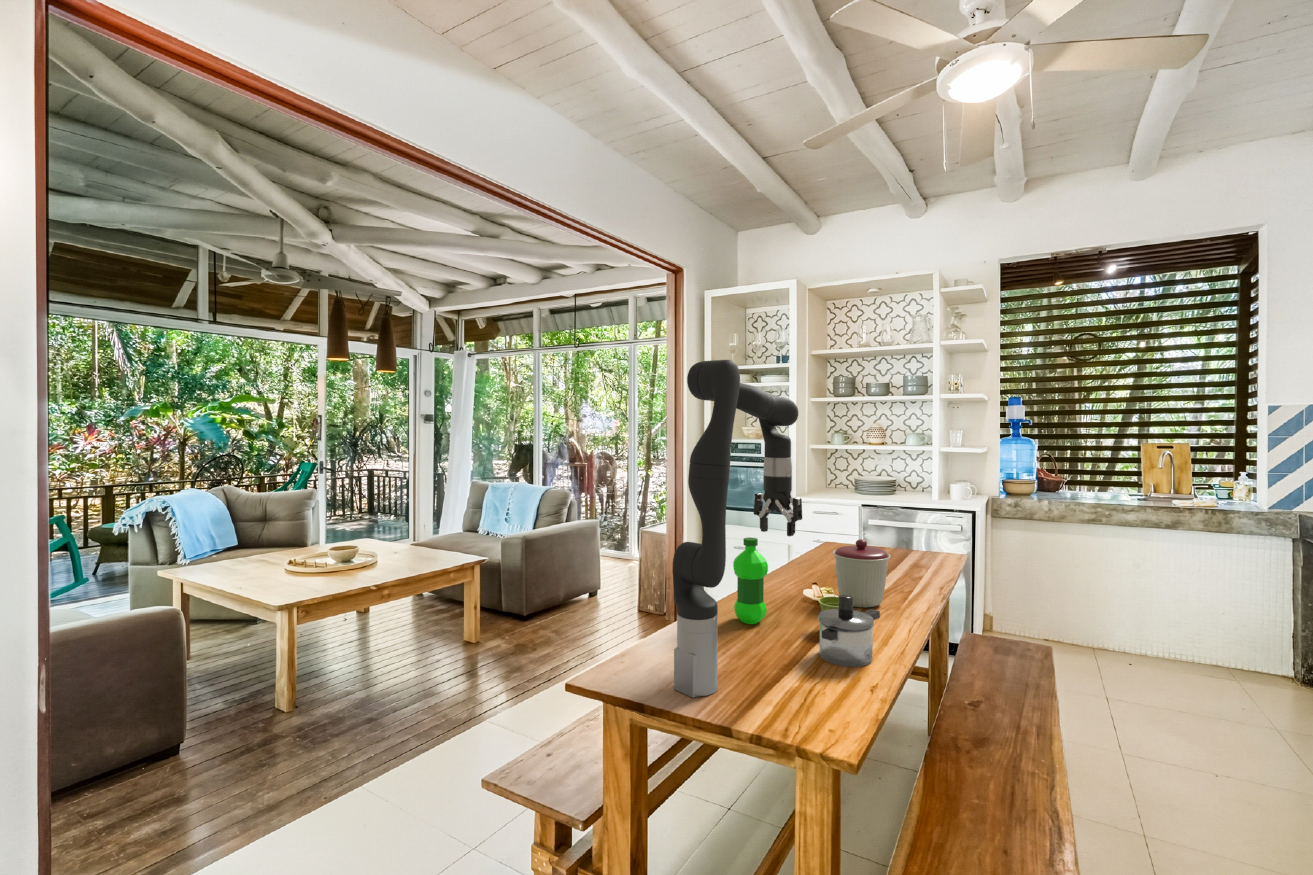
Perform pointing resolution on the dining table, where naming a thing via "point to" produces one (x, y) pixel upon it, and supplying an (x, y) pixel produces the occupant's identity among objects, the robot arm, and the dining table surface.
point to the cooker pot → (847, 645)
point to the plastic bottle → (750, 583)
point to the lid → (846, 616)
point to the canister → (861, 573)
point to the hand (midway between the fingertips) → (777, 533)
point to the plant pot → (829, 603)
